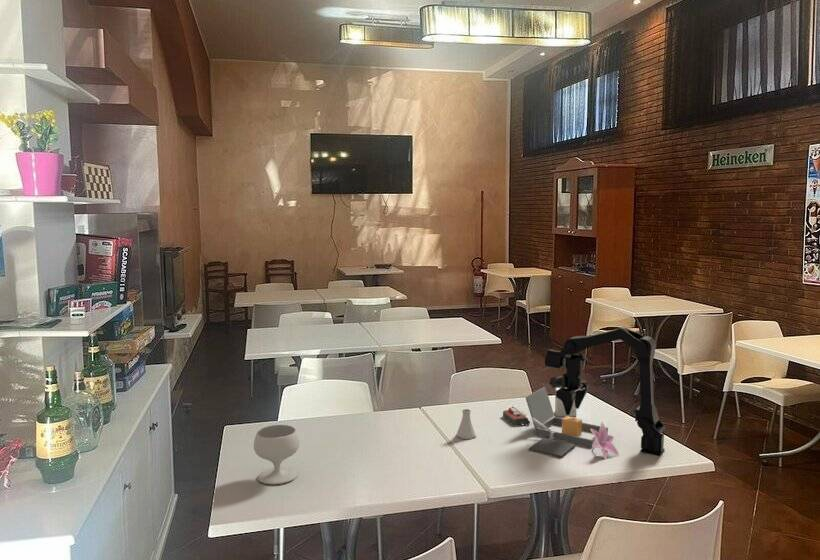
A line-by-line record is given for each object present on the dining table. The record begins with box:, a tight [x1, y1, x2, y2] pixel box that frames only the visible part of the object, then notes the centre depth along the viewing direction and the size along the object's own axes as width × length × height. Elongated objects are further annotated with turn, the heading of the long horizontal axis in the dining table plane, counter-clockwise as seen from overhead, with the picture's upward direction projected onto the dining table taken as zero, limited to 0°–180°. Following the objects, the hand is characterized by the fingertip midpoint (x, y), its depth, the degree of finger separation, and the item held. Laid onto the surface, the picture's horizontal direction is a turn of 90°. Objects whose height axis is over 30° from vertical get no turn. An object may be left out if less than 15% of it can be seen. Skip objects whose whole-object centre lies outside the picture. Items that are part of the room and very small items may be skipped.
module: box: [561, 416, 583, 437], centre depth 226 cm, size 6×4×6 cm
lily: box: [590, 421, 620, 460], centre depth 208 cm, size 12×12×10 cm
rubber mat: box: [528, 437, 576, 459], centre depth 212 cm, size 12×12×1 cm
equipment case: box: [525, 386, 609, 448], centre depth 227 cm, size 26×18×14 cm
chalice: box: [253, 424, 300, 485], centre depth 189 cm, size 14×14×15 cm
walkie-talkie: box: [502, 406, 531, 426], centre depth 246 cm, size 9×4×20 cm
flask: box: [456, 408, 477, 440], centre depth 225 cm, size 7×7×10 cm
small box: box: [554, 387, 577, 417], centre depth 250 cm, size 8×6×10 cm
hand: (572, 411), depth 226 cm, fingers open, 9 cm apart
